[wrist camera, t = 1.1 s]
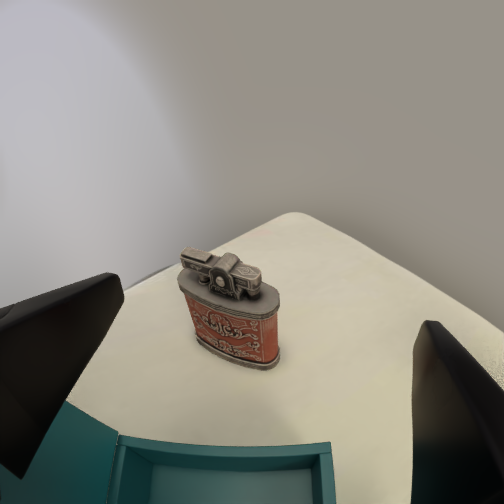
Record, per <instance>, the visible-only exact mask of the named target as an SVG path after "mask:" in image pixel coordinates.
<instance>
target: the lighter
mask: <svg viewBox="0 0 504 504" xmlns="http://www.w3.org/2000/svg"><path fill="white" fill-rule="evenodd" d="M180 259H181V262H182V266H183V268H184V269H183V270H182V271H181V272H180V273H179V275H178V278H177V280H178V284H179V287H180V290H181V291H182V292H183V293H184V295H185V298H186V301H187V305H188V308H189V311H190V314H191V317H192V320H193V323H194V326H195V335H196V338H197V341H198V342H199V344H201V345H202V346H203V347H205V348H206V349H208V350H209V351H210V352H212V353H214V354H215V355H217V356H219V357H221V358H223V359H225V360H227V361H230V362H232V363H235V364H238V365H241V366H244V367H248V368H253V369H258V370H270V369H272V368H273V367H275V366H276V365H277V363H278V362H279V359H280V348H279V346H278V332H277V311H278V309H279V307H280V297H279V293H278V291H277V290H276V289H275V288H274V287H272V286H270V285H268V284H266V283H264V282H262V278H261V270H260V269H259V268H257V267H254V266H250V265H247V264H244V263H243V262H242V261H240V259H239V258H238V257H237V256H236V255H235V254H232V253H225V254H224V255H223V256H222V257H220V256H216V255H213V254H211V253H208V252H204V251H201V250H197V249H194V248H191V247H187V248H185V249H184V250H183V251H182V252H181V254H180Z"/></svg>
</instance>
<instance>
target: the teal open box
mask: <svg viewBox="0 0 504 504" xmlns="http://www.w3.org/2000/svg"><path fill="white" fill-rule="evenodd" d="M117 444H118V445H116V450H115V455H114V461H113V466H112V472H111V477H110V483H109V490H108V496H107V503H106V504H336V494H335V481H334V470H333V459H332V453H331V452H332V449H331V442H323V443H313V444H301V445H286V446H258V447H237V446H209V445H194V444H182V443H172V442H164V441H156V440H149V439H142V438H136V437H130V436H124V435H118V440H117Z"/></svg>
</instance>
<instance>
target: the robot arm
mask: <svg viewBox="0 0 504 504" xmlns="http://www.w3.org/2000/svg"><path fill="white" fill-rule="evenodd" d="M123 302H124V293H123V289H122V285H121V282H120V278H119V276H118V275H116V274H113V273H103V274H100V275H97V276H94V277H91V278H88V279H85V280H82V281H79V282H76V283H73V284H70V285H67V286H64V287H61V288H58V289H55V290H52V291H50V292H47V293H44V294H41V295H38V296H35V297H32V298H29V299H27V300H23V301H21V302H18V303H16V304H12V305H9V306H7V307H3V308H1V309H0V464H1V465H2V466H4V467H5V468H6V469H7V470H8V471H10V472H11V473H12V474H13V475H15V476H16V477H17V478H18V479H20V480H22V479H23V478H24V476H25V474H26V472H27V470H28V468H29V466H30V464H31V462H32V460H33V458H34V456H35V454H36V452H37V450H38V448H39V447H40V445H41V443H42V441H43V439H44V437H45V435H46V433H47V431H48V430H49V428H50V426H51V424H52V422H53V421H54V419H55V417H56V415H57V414H58V412H59V410H60V409H61V407H62V405H63V403H64V402H65V400H66V398H67V397H68V395H69V393H70V392H71V390H72V388H73V387H74V385H75V383H76V382H77V380H78V379H79V377H80V375H81V374H82V372H83V370H84V369H85V367H86V366H87V364H88V363H89V361H90V359H91V358H92V356H93V355H94V353H95V352H96V350H97V349H98V347H99V346H100V344H101V342H102V341H103V339H104V337H105V336H106V334H107V332H108V330H109V328H110V326H111V325H112V323H113V321H114V319H115V317H116V315H117V314H118V312H119V310H120V308H121V306H122V305H123ZM412 424H413V470H412V491H411V504H504V391H503V389H502V388H501V387H500V386H499V385H498V384H497V383H496V381H495V380H494V379H493V378H492V377H491V376H490V375H489V374H488V372H487V371H486V370H485V369H484V368H483V367H482V366H481V365H480V364H479V363H478V362H477V361H476V359H475V358H474V357H473V356H472V355H471V354H470V353H469V352H468V351H467V350H466V349H465V348H464V347H463V346H462V345H461V344H460V343H459V342H458V341H457V340H456V338H455V337H454V336H453V335H452V334H451V333H450V332H449V331H448V330H447V329H446V328H445V327H444V326H443V325H442V324H441V323H440V322H438V321H430V320H426V321H424V322H423V324H422V326H421V328H420V331H419V333H418V336H417V339H416V341H415V344H414V348H413V380H412ZM0 501H1V491H0Z"/></svg>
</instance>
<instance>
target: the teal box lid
mask: <svg viewBox="0 0 504 504" xmlns="http://www.w3.org/2000/svg"><path fill="white" fill-rule="evenodd" d="M117 438H118V431H116V430H114V429H112V428H110V427H109V426H107V425H105V424H103V423H101V422H100V421H98V420H96V419H95V418H93V417H91V416H89V415H88V414H86V413H85V412H83V411H81V410H80V409H78V408H77V407H75V406H73V405H72V404H70V403H69V402H67V401H66V400H65V402H64V403H63V405H62V407H61V409H60V410H59V412H58V414H57V415H56V417H55V419H54V421H53V422H52V424H51V426H50V428H49V430H48V431H47V433H46V435H45V437H44V439H43V441H42V443H41V445H40V447H39V448H38V450H37V452H36V454H35V456H34V458H33V460H32V462H31V464H30V466H29V468H28V470H27V472H26V474H25V476H24V478H23V479H22V480H20V479H18V478H17V477H16V476H15V475H13V474H12V473H11V472H10V471H8V470H7V469H6V468H5V467H4V466H2V465H1V464H0V491H1V501H0V504H106V500H107V493H108V487H109V481H110V475H111V469H112V464H113V458H114V453H115V448H116V443H117Z"/></svg>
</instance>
